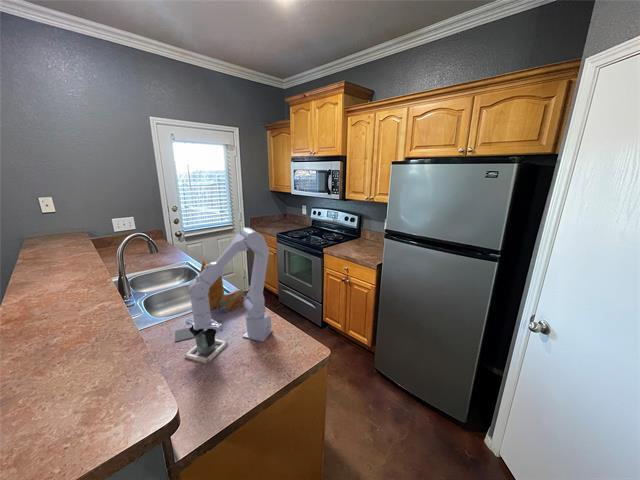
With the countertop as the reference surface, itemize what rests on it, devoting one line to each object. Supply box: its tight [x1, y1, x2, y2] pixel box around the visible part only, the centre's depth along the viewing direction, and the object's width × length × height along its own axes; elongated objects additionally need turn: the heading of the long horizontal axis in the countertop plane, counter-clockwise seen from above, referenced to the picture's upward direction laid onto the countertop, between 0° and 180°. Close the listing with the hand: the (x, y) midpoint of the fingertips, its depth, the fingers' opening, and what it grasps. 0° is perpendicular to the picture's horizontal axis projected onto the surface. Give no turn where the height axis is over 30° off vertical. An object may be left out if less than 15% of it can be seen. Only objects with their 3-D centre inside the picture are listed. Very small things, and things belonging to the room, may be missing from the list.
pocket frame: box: [184, 338, 228, 364], centre depth 98 cm, size 10×11×1 cm
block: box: [195, 329, 217, 355], centre depth 97 cm, size 4×5×7 cm
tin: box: [216, 289, 247, 314], centre depth 127 cm, size 15×3×8 cm, turn 134°
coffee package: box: [199, 260, 225, 310], centre depth 130 cm, size 10×12×22 cm
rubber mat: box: [174, 319, 224, 343], centre depth 110 cm, size 18×8×1 cm, turn 116°
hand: (206, 343), depth 97 cm, fingers closed on block, 4 cm apart
